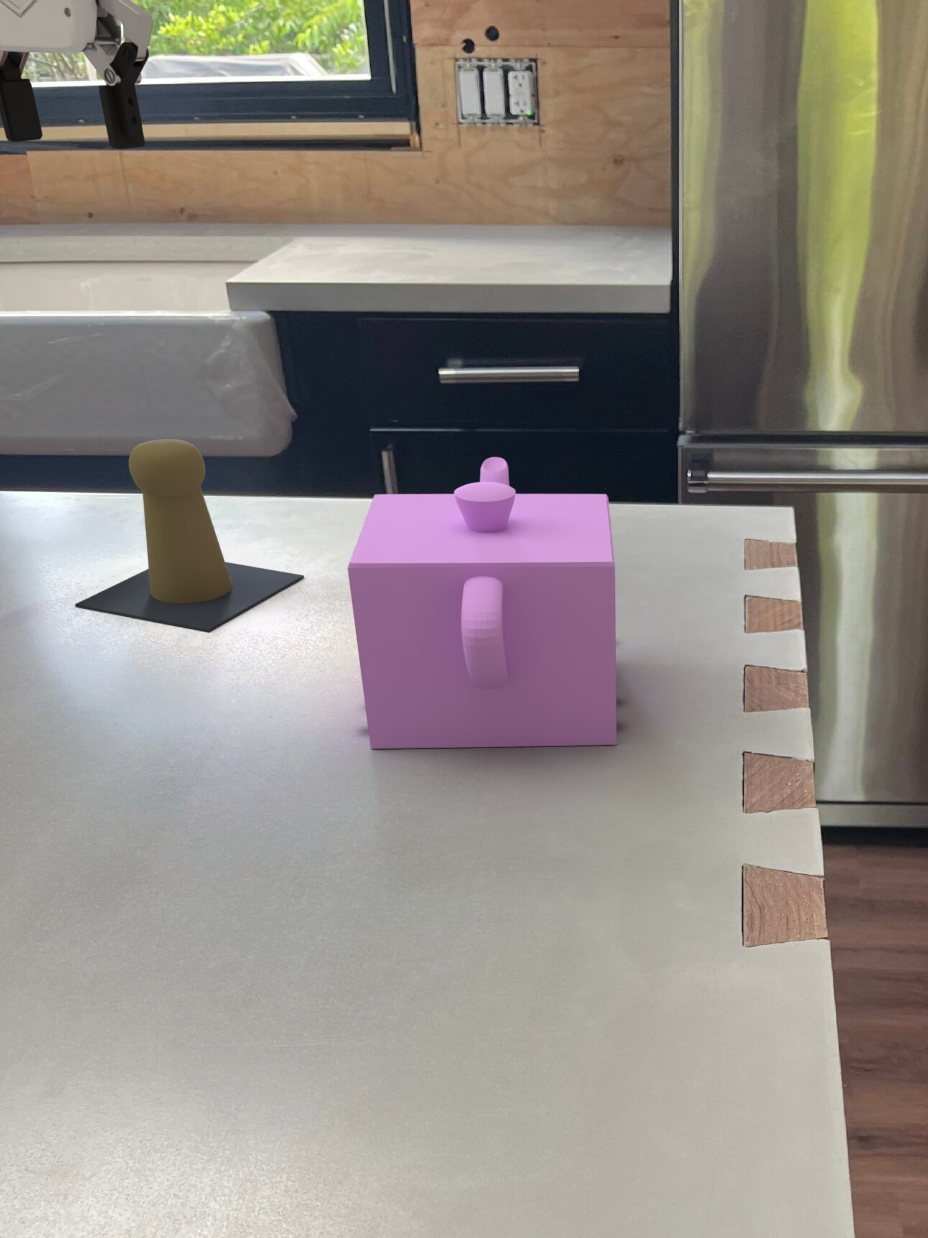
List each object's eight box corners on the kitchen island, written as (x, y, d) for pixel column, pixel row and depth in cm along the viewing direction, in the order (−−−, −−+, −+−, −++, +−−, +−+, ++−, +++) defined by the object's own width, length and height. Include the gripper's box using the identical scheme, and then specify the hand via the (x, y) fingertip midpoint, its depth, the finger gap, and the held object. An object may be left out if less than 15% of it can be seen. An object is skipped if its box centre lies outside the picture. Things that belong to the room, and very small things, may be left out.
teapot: (606, 621, 99) (604, 428, 91) (619, 782, 78) (617, 552, 70) (402, 623, 97) (381, 427, 89) (360, 787, 77) (329, 553, 69)
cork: (150, 578, 103) (119, 434, 97) (231, 571, 105) (205, 429, 98) (150, 607, 98) (116, 457, 92) (234, 599, 100) (207, 451, 94)
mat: (75, 606, 99) (74, 604, 98) (179, 556, 108) (179, 553, 108) (208, 632, 95) (208, 629, 95) (304, 577, 105) (304, 575, 104)
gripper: (-126, -148, 90) (-51, 141, 100) (78, -150, 85) (135, 155, 95) (-41, -138, 96) (22, 134, 106) (155, -139, 91) (202, 147, 101)
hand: (76, 144), depth 100 cm, fingers open, 9 cm apart
